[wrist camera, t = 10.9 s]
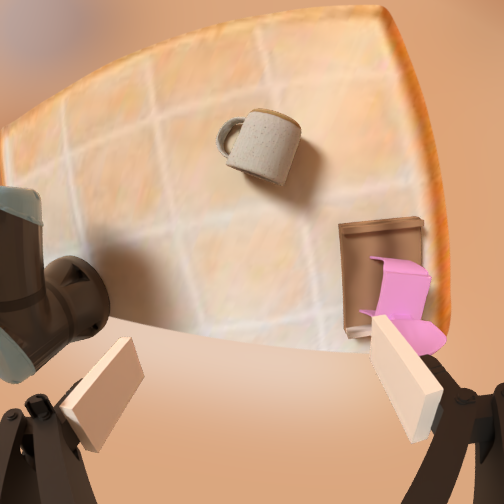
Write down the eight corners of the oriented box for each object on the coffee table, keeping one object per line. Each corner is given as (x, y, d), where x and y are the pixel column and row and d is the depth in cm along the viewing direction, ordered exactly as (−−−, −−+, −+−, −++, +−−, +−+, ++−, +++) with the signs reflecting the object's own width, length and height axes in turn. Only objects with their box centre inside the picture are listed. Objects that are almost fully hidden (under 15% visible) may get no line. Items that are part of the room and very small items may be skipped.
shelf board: (343, 328, 43) (348, 340, 39) (338, 224, 40) (344, 227, 36) (413, 316, 42) (423, 326, 38) (414, 216, 39) (426, 219, 35)
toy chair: (415, 257, 38) (471, 292, 23) (402, 314, 40) (446, 366, 25) (363, 251, 39) (406, 287, 24) (352, 311, 41) (382, 369, 26)
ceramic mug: (303, 131, 38) (307, 119, 30) (283, 187, 40) (283, 186, 32) (230, 108, 38) (218, 92, 31) (210, 162, 40) (194, 157, 32)
